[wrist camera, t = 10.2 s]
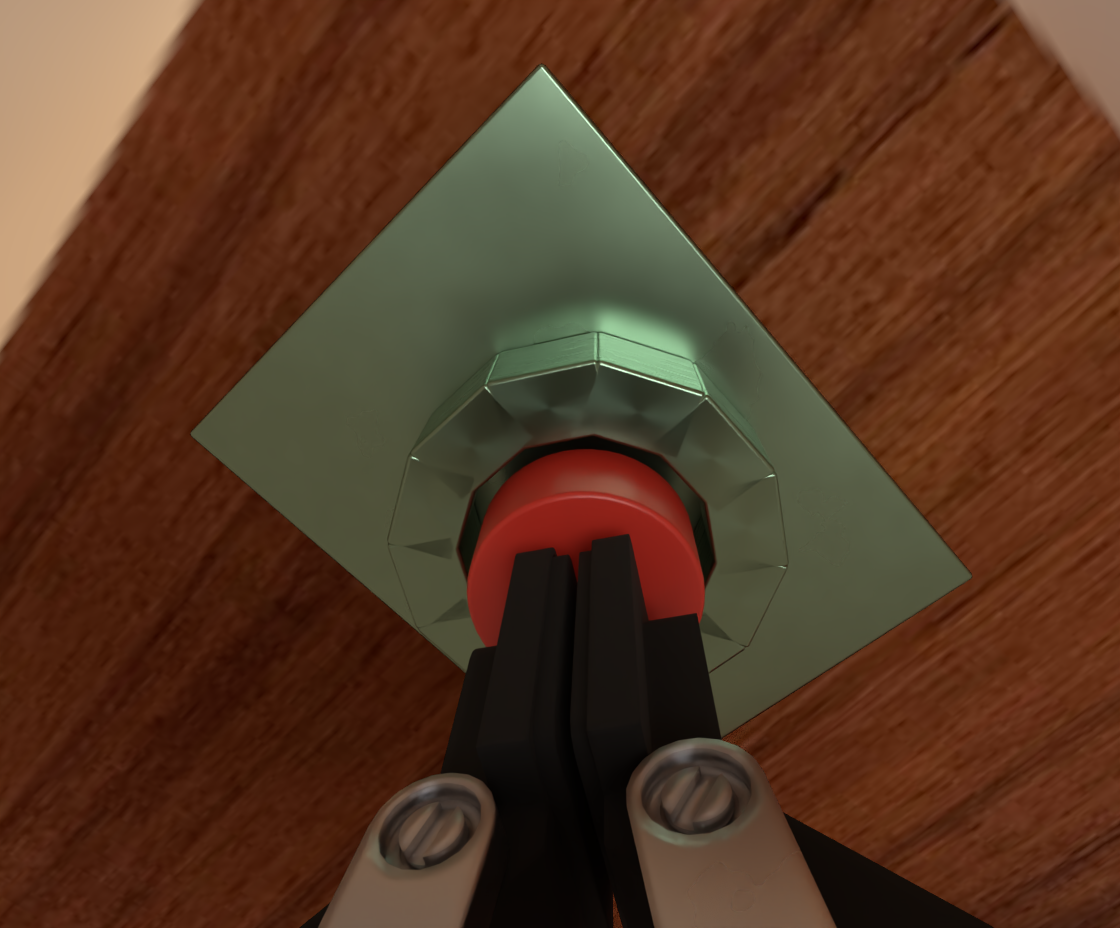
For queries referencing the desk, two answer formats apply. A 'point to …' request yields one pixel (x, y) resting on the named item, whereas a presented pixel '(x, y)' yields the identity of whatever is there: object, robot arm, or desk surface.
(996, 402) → the desk surface
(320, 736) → the desk surface
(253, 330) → the desk surface
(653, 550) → the red button
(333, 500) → the block
